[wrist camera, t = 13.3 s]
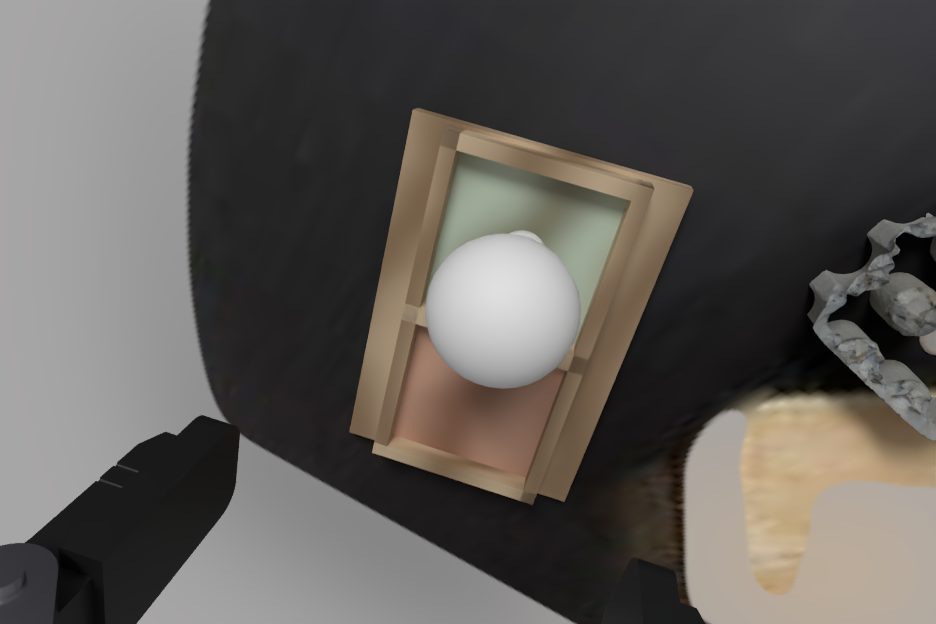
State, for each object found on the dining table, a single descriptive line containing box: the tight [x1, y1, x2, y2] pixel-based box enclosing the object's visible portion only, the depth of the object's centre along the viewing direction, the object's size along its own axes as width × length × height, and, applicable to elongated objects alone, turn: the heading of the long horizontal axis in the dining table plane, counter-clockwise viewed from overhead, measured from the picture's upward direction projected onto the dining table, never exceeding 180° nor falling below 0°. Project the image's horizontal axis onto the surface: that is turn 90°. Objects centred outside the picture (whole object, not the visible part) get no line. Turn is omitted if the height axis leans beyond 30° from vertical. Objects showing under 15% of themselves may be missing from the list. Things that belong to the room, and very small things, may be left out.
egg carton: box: [807, 213, 936, 441], centre depth 29 cm, size 11×8×4 cm
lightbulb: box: [425, 230, 581, 389], centre depth 26 cm, size 6×6×11 cm
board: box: [350, 108, 694, 505], centre depth 34 cm, size 14×20×2 cm
